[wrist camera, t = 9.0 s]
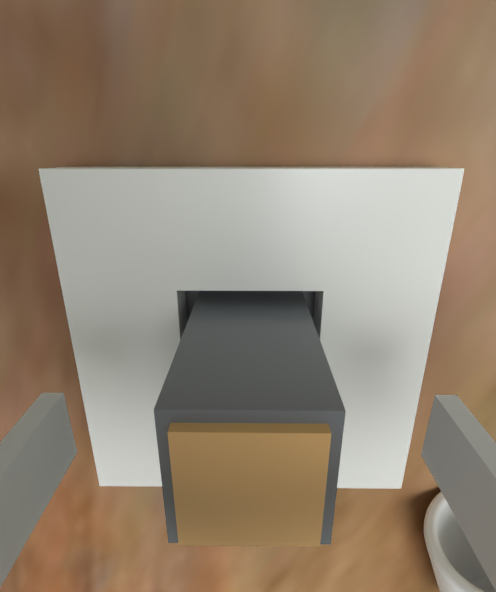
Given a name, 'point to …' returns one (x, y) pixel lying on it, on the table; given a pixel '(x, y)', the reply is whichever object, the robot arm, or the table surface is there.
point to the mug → (452, 551)
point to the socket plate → (251, 288)
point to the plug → (249, 425)
